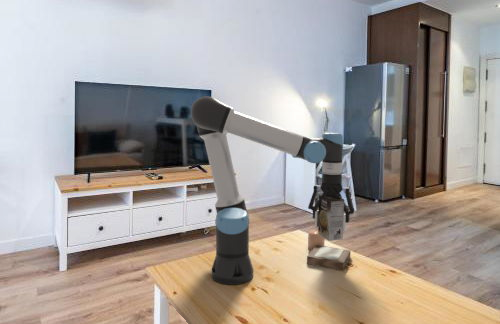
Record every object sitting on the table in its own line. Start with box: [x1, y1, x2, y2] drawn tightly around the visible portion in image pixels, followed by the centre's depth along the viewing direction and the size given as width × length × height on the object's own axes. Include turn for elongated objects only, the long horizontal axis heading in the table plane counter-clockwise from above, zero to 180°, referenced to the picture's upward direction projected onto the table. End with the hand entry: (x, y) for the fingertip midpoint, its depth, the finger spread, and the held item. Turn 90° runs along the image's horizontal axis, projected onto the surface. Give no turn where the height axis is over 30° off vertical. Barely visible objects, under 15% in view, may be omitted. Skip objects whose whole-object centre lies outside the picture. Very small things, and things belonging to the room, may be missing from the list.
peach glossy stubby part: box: [307, 229, 326, 251], centre depth 155 cm, size 7×7×7 cm
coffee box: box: [317, 194, 345, 242], centre depth 140 cm, size 9×6×16 cm
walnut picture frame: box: [306, 245, 351, 271], centre depth 142 cm, size 14×14×3 cm
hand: (330, 228), depth 141 cm, fingers closed on coffee box, 10 cm apart
